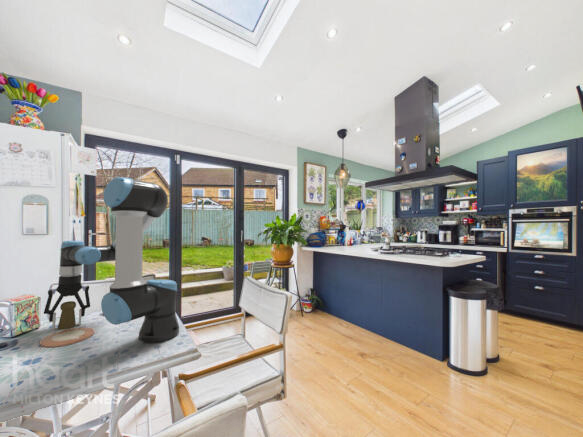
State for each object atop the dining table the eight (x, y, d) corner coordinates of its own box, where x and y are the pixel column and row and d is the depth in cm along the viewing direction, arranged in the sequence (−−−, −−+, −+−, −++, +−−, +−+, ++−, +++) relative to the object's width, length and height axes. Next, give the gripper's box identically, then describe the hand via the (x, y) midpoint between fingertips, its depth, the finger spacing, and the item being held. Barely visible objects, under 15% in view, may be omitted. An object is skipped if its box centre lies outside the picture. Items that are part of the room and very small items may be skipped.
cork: (74, 323, 111) (76, 299, 111) (77, 326, 107) (78, 301, 108) (56, 326, 106) (58, 301, 107) (58, 330, 102) (60, 304, 103)
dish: (94, 339, 96) (95, 336, 96) (37, 351, 85) (37, 349, 86) (93, 326, 108) (93, 324, 108) (42, 335, 97) (42, 333, 98)
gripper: (99, 271, 117) (96, 318, 116) (38, 275, 104) (34, 329, 103) (100, 273, 112) (97, 323, 111) (36, 279, 98) (31, 335, 97)
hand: (66, 326), depth 107 cm, fingers open, 8 cm apart
